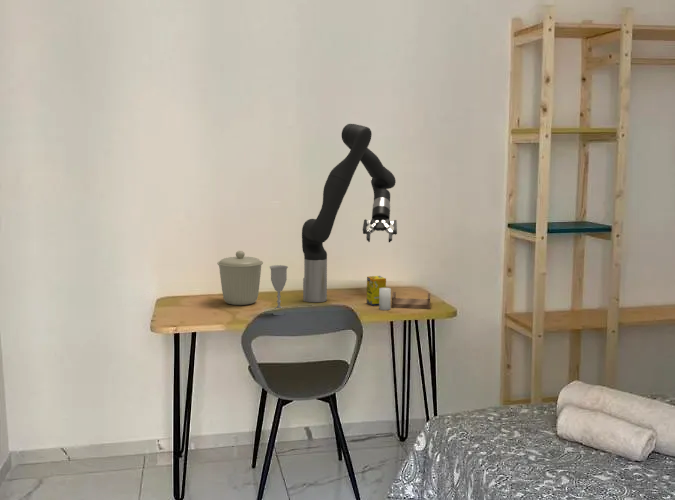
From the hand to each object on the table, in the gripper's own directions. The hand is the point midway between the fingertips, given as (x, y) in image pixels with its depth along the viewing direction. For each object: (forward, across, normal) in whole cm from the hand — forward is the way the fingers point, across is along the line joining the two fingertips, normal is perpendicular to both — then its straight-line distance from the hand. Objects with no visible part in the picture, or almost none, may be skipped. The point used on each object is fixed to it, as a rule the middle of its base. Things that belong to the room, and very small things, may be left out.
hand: (379, 241), depth 314 cm
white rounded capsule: (+32, +4, +2) cm, 32 cm away
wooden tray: (+26, +14, +8) cm, 30 cm away
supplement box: (+26, 0, +8) cm, 27 cm away
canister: (+30, -54, +3) cm, 62 cm away
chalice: (+42, -35, -9) cm, 56 cm away
